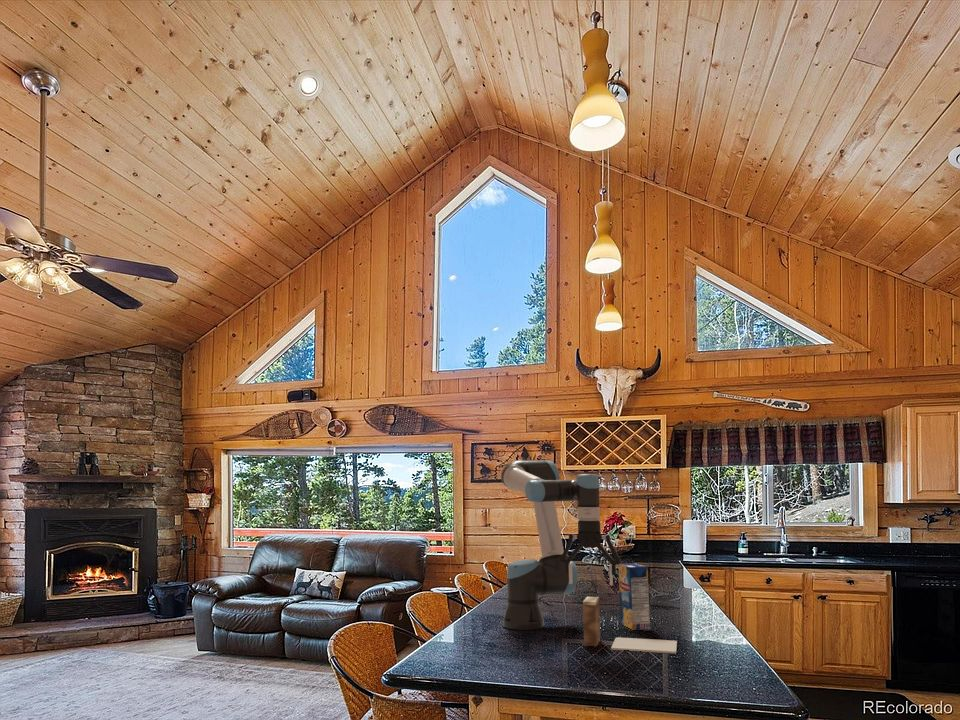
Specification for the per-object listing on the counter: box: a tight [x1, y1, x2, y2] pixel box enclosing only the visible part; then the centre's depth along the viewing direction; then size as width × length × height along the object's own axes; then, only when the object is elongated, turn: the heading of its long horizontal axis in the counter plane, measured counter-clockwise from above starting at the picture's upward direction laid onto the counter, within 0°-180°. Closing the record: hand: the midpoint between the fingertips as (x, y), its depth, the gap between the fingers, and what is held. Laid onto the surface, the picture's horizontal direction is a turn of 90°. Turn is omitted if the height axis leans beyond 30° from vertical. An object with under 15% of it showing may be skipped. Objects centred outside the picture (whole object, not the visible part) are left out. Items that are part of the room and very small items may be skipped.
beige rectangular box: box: [582, 596, 601, 648], centre depth 233 cm, size 4×10×14 cm, turn 164°
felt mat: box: [610, 637, 678, 655], centre depth 227 cm, size 20×15×1 cm
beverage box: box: [617, 562, 651, 631], centre depth 257 cm, size 7×11×22 cm, turn 11°
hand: (591, 584), depth 235 cm, fingers open, 13 cm apart
